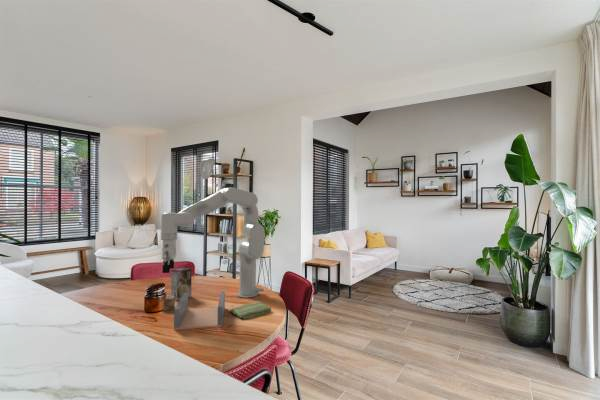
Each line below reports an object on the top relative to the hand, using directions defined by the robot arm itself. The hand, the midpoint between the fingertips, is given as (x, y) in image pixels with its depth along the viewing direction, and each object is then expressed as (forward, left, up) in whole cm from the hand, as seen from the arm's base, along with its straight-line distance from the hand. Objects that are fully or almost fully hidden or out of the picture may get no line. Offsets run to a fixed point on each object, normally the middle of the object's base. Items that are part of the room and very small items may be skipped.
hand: (168, 270), depth 156 cm
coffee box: (-3, -18, -20) cm, 27 cm away
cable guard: (-18, +15, -20) cm, 31 cm away
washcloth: (-41, +11, -20) cm, 47 cm away
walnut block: (0, 0, -20) cm, 20 cm away
